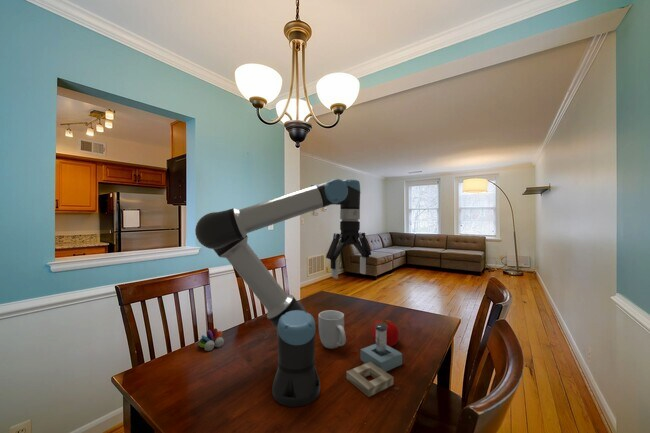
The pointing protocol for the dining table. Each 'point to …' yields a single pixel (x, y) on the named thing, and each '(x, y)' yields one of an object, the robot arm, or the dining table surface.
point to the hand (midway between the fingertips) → (349, 275)
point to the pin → (380, 338)
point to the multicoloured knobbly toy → (211, 340)
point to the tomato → (387, 332)
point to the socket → (384, 362)
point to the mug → (331, 329)
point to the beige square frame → (373, 386)
